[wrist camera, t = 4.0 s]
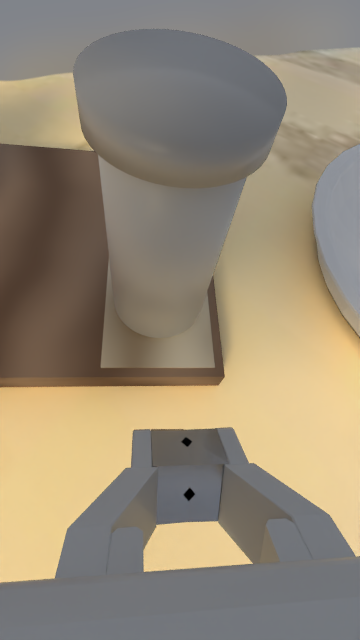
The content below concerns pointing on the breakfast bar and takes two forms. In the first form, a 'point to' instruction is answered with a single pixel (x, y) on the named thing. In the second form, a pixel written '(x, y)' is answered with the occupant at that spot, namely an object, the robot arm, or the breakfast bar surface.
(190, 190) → the grey plug
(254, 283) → the breakfast bar surface
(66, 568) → the robot arm
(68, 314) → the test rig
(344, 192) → the pan
